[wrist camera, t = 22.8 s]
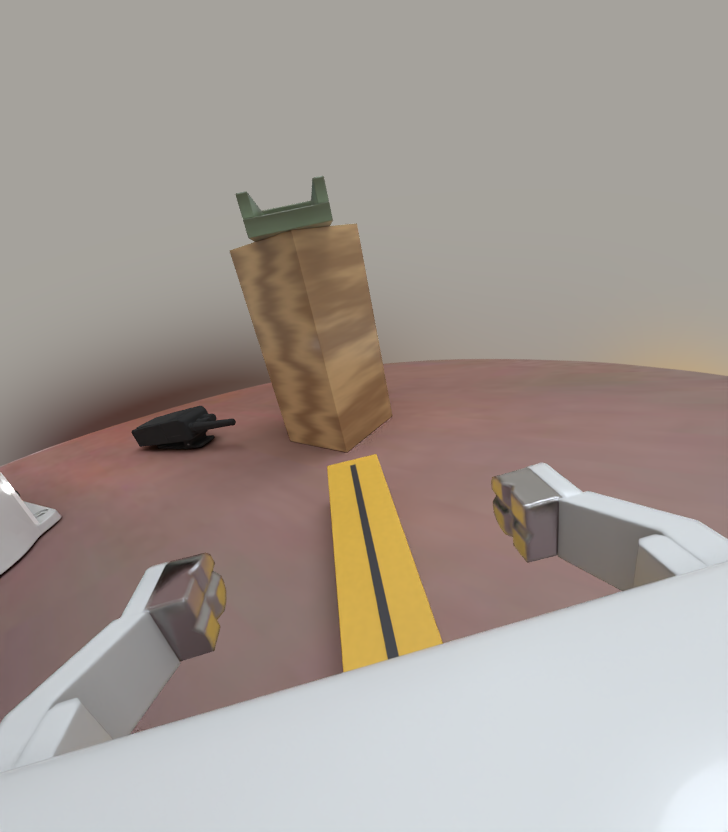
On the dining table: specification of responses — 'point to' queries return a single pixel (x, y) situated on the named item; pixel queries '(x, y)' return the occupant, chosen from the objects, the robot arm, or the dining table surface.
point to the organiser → (313, 320)
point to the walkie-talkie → (179, 429)
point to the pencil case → (374, 570)
